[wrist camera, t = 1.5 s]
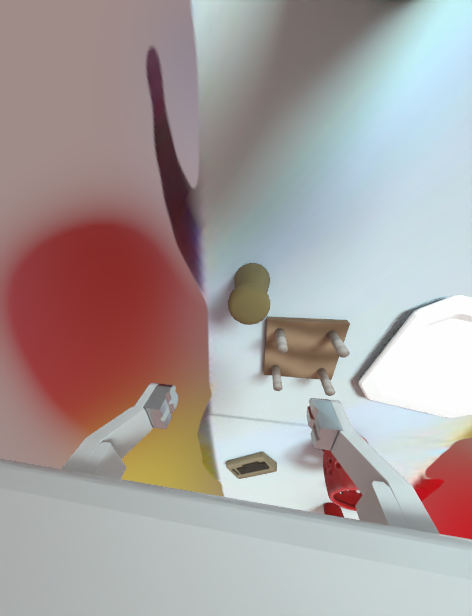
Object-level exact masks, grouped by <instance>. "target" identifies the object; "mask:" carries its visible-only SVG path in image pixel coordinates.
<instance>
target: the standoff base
mask: <svg viewBox="0 0 472 616" xmlns="http://www.w3.org/2000/svg"><path fill="white" fill-rule="evenodd" d="M349 325H350V323H349V322H348V321H347V320H333V319H309V318H285V317H267V329H266V343H265V357H264V375H272V376H273V388H274V390H276V391H280V390H282V382H281V376H287V377H299V378H311V379H320V380H321V383H322V386H323V388H324V391H325V394H326V395H328V396H331V395H334V394H335V391H334V389H333V386H332V384H331V382H330V380H331V379H332V376H333V373H334V370H335V367H336V364H337V361H338V358H339V356H340V357H346V356H348V355H349V351H348V349H347V348H346V346H345V345H344V340H345V337H346V334H347V331H348V328H349Z"/></svg>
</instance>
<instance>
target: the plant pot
mask: <svg viewBox="0 0 472 616" xmlns="http://www.w3.org/2000/svg"><path fill="white" fill-rule="evenodd" d="M361 437H362V436H361ZM362 438H363V437H362ZM363 439H364V438H363ZM364 440H365V439H364ZM365 441H366V440H365ZM366 442H367V441H366ZM367 443H368V442H367ZM368 444H369V443H368ZM322 450H323V451H324V455H323V468H324V477H325V482H326V487H327V492H328V496H329V498H330V500H331V501H332V502H333V503H335V504H336V505H338V506H340V507H343V508H346V509H349V510H353V511H357V510H356V507H355V506H356V504H357V502H358V501H359V500H360V498H361V497H362V496H363V495H362V493H361V492H360V493H357V492H356V490H359V489H358V488H357V487H356V485H355V484H354V482H353V481H352V480H351V478H350V477H349V476H348V474H347V473H346V472H345V470H344V469H343V467H342V466H341V465H340V463H339V462H338V461H337V459H336V458H335V456H334V455H333V454H332V452H331V451H330V450H324V449H322ZM347 490H349V491H347ZM339 492H342V494H340V493H339Z"/></svg>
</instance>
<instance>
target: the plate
mask: <svg viewBox="0 0 472 616" xmlns="http://www.w3.org/2000/svg"><path fill="white" fill-rule="evenodd" d="M359 386H360V388H361V390H362V392H363V393H364V395H365V397H366V398H367V399H369V400H373V401H378V402H382V403H386V404H391V405H395V406H399V407H403V408H408V409H412V410H416V411H420V412H425V413H429V414H433V415H438V416H442V417H446V418H454V417H460V416H465V415H471V414H472V298H471V297H466V296H461V295H456V296H451V297H448V298H445V299H443V300H440V301H438V302H435V303H432V304H430V305H427V306H424V307H422V308H419V309H417V310H415V311H414V312H413V313H412V314H411V315H410V316H409V318H408V319H407V320H406V321H405V323H404V324H403V325H402V326H401V328H400V329H399V330H398V332H397V333H396V334H395V335H394V337H393V338H392V339H391V340H390V342H389V343H388V344H387V346H386V347H385V348H384V349H383V351H382V352H381V353H380V354H379V356H378V357H377V358H376V360H375V361H374V362H373V363H372V365H371V366H370V367H369V368H368V370H367V371H366V372H365V374H364V375H363V376H362V377H361V379H360V380H359Z"/></svg>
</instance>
